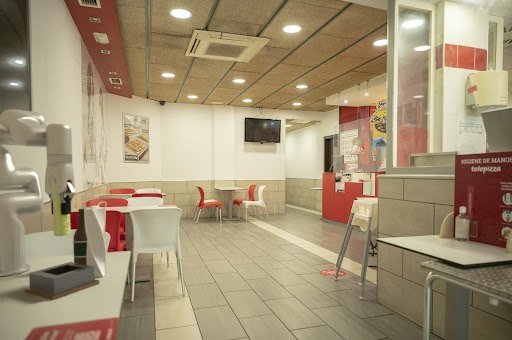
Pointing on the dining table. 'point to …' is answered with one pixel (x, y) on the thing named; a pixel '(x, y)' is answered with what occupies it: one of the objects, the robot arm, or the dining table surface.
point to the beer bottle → (80, 240)
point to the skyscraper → (96, 238)
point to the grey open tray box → (61, 280)
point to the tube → (59, 215)
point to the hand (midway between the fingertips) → (61, 213)
